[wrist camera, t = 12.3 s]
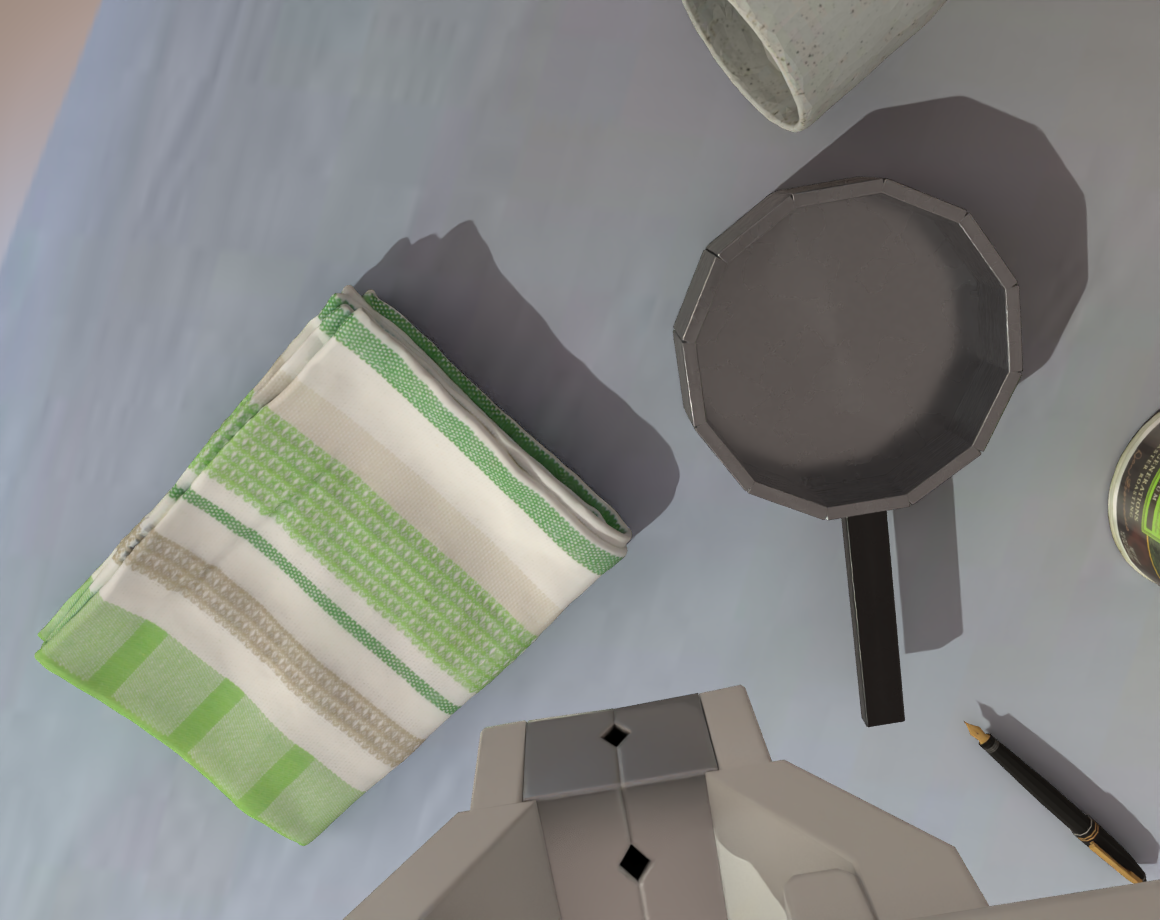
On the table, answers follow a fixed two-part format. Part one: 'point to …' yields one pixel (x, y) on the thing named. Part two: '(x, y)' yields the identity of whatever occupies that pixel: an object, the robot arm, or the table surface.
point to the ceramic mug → (803, 48)
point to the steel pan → (851, 370)
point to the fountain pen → (1062, 808)
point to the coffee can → (1138, 501)
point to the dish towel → (334, 572)
